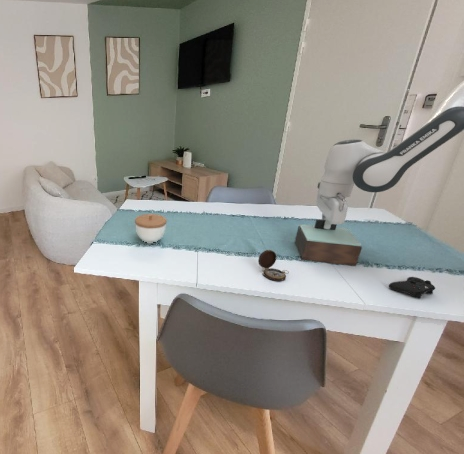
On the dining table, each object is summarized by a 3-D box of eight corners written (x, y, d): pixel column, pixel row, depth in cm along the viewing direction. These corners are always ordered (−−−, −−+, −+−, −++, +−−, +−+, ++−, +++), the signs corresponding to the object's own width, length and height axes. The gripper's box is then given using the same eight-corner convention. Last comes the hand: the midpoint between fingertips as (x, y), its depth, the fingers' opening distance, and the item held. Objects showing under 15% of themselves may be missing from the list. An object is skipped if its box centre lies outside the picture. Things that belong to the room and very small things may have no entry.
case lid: (347, 229, 103) (349, 220, 102) (361, 246, 92) (364, 236, 90) (299, 225, 109) (301, 216, 107) (307, 240, 97) (309, 231, 96)
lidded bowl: (132, 234, 126) (132, 211, 121) (160, 232, 127) (161, 208, 122) (138, 247, 114) (138, 222, 110) (169, 244, 115) (171, 219, 111)
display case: (342, 247, 106) (347, 230, 104) (355, 266, 94) (362, 247, 92) (294, 242, 112) (298, 225, 109) (301, 259, 100) (306, 241, 97)
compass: (273, 283, 88) (277, 262, 85) (255, 270, 95) (258, 250, 92) (295, 278, 90) (300, 258, 87) (276, 266, 97) (280, 246, 94)
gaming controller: (407, 277, 86) (431, 272, 81) (418, 295, 84) (444, 290, 79) (385, 284, 83) (409, 279, 78) (396, 302, 81) (421, 299, 76)
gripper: (357, 199, 88) (345, 240, 94) (337, 182, 106) (328, 217, 111) (332, 197, 91) (322, 237, 96) (316, 181, 108) (308, 216, 113)
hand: (325, 226), depth 104 cm, fingers closed on case lid
